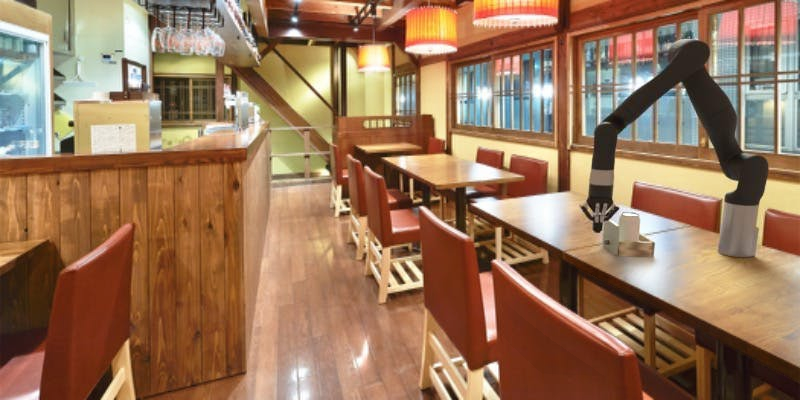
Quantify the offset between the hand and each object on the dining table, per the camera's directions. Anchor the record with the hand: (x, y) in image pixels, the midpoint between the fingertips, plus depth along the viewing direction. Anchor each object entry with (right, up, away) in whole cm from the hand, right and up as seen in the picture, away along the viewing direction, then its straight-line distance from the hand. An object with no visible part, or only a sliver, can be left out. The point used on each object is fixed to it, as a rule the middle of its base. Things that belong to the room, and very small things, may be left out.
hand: (597, 232), depth 156 cm
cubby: (+10, -6, 0) cm, 12 cm away
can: (+10, -6, 0) cm, 12 cm away
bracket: (+9, -6, 0) cm, 11 cm away
